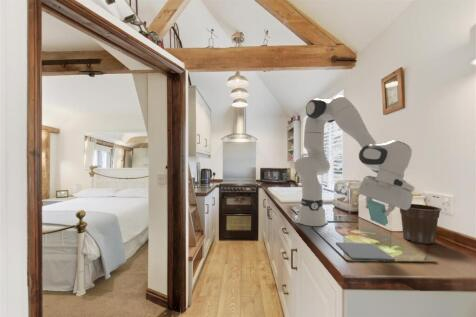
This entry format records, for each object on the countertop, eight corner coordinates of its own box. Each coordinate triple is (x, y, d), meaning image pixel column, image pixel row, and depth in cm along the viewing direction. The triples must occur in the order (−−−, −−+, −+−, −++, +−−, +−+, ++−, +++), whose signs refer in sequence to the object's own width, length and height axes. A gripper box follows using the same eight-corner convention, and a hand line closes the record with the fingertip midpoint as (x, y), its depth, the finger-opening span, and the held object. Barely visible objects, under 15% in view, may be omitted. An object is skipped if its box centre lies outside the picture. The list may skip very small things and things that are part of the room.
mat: (335, 243, 105) (335, 242, 105) (372, 244, 104) (372, 243, 104) (351, 259, 89) (351, 257, 89) (395, 260, 88) (395, 259, 88)
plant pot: (393, 232, 122) (393, 202, 122) (430, 236, 117) (431, 204, 117) (404, 243, 107) (405, 208, 107) (448, 248, 102) (448, 211, 102)
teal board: (374, 217, 100) (370, 199, 97) (388, 222, 95) (384, 204, 92) (370, 219, 100) (367, 202, 97) (384, 225, 94) (381, 207, 91)
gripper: (361, 172, 103) (350, 201, 103) (410, 184, 85) (396, 220, 85) (369, 176, 106) (358, 204, 106) (419, 189, 88) (406, 223, 88)
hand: (376, 211), depth 95 cm, fingers closed on teal board, 6 cm apart
